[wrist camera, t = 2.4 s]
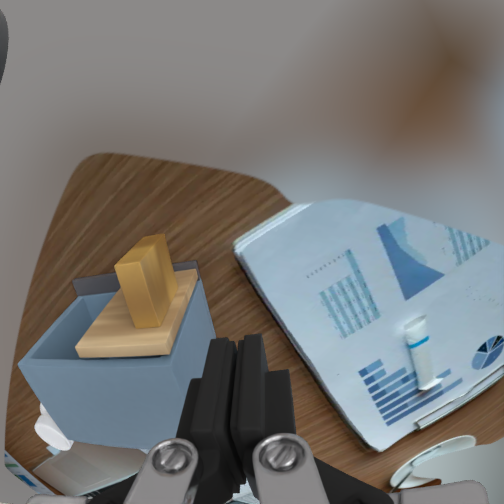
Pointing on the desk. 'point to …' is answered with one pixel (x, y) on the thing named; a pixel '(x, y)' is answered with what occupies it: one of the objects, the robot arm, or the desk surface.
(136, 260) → the tan piece
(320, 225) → the desk surface
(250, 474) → the robot arm
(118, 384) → the grey-blue hollow box
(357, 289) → the desk surface
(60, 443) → the pill bottle
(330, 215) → the desk surface
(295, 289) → the desk surface
